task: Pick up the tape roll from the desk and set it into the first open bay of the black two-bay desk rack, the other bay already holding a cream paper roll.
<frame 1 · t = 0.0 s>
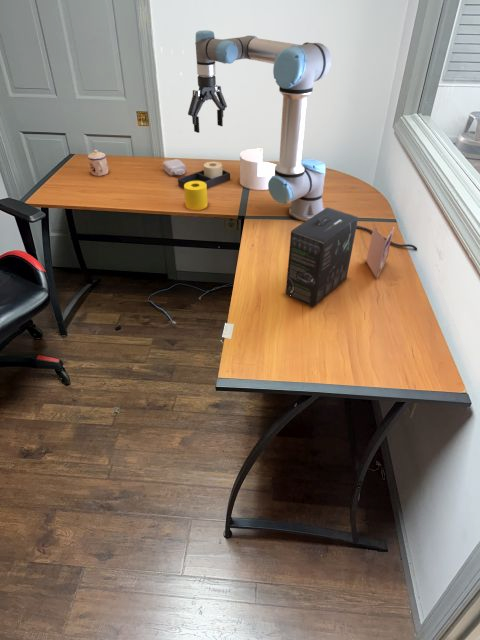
hand: (208, 128, 194), 28 cm above the table, tool pointing down, fingers open, 13 cm apart
white notched cylinder: (259, 182, 219), on the table
headset box: (316, 287, 150), on the table
tape roll: (196, 205, 199), on the table
greeting card: (373, 268, 159), on the table
rack: (204, 182, 218), on the table
teacup with lid: (101, 174, 227), on the table
charger: (177, 174, 227), on the table
paper roll: (213, 179, 221), resting on rack
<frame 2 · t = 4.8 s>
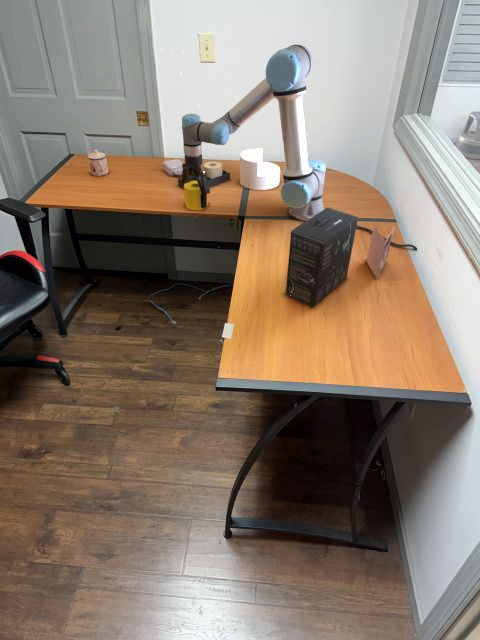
hand: (196, 203, 198), 1 cm above the table, tool pointing down, fingers closed on tape roll, 10 cm apart
tape roll: (196, 205, 199), on the table, touching gripper
everything else where it was.
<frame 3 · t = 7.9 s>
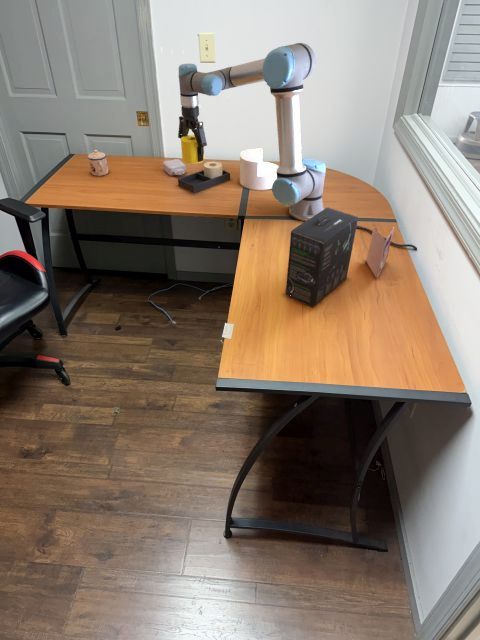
hand: (193, 158, 200), 16 cm above the table, tool pointing down, fingers closed on tape roll, 10 cm apart
tape roll: (193, 160, 200), point 15 cm above the table, touching gripper
everything else where it was.
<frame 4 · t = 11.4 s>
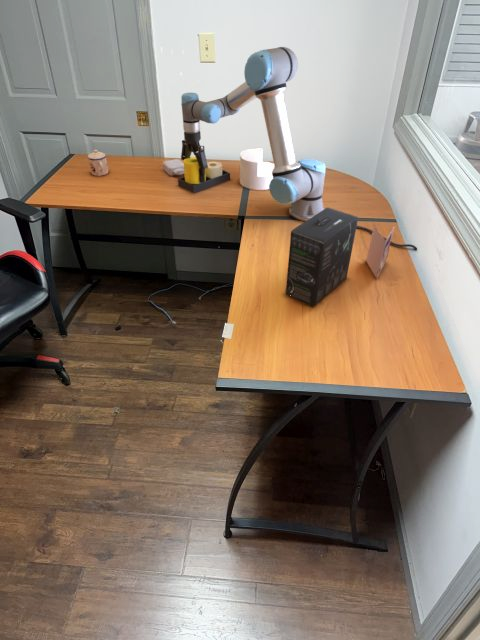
hand: (195, 178, 212), 4 cm above the table, tool pointing down, fingers closed on tape roll, 10 cm apart
tape roll: (195, 180, 213), point 3 cm above the table, touching gripper
everything else where it was.
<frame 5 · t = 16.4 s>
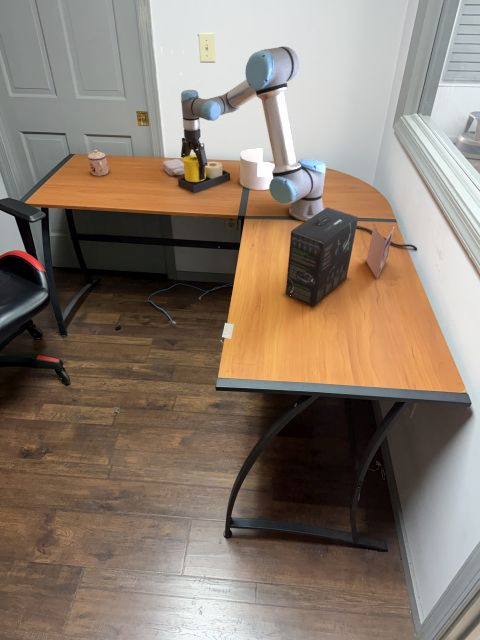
hand: (195, 176, 212), 5 cm above the table, tool pointing down, fingers closed on tape roll, 10 cm apart
tape roll: (195, 178, 212), point 4 cm above the table, touching gripper
everything else where it was.
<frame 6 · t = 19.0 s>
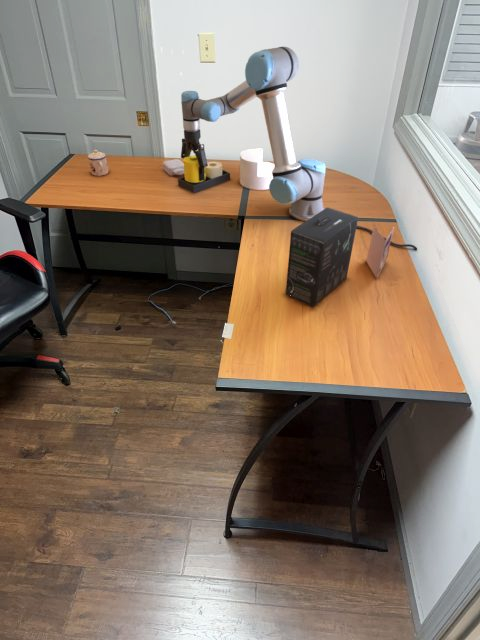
hand: (195, 177, 212), 5 cm above the table, tool pointing down, fingers closed on tape roll, 10 cm apart
tape roll: (195, 178, 212), point 4 cm above the table, touching gripper
everything else where it was.
when the fingers open (5 cm above the table, at t = 21.0 s): tape roll drops 4 cm, resting on rack.
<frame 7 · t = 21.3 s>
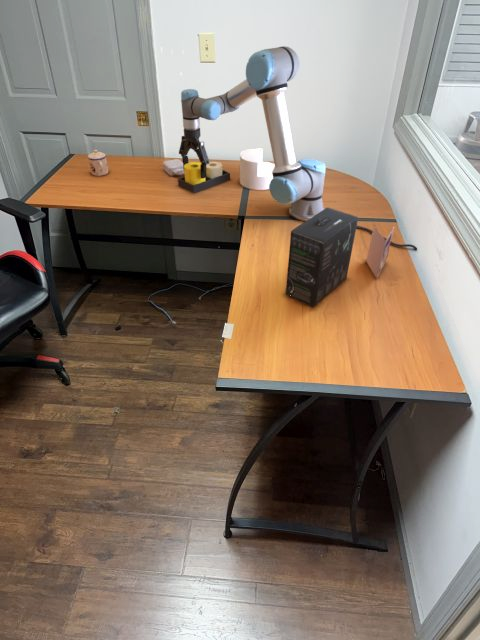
hand: (194, 173, 211), 6 cm above the table, tool pointing down, fingers open, 13 cm apart
tape roll: (195, 185, 214), resting on rack
everything else where it was.
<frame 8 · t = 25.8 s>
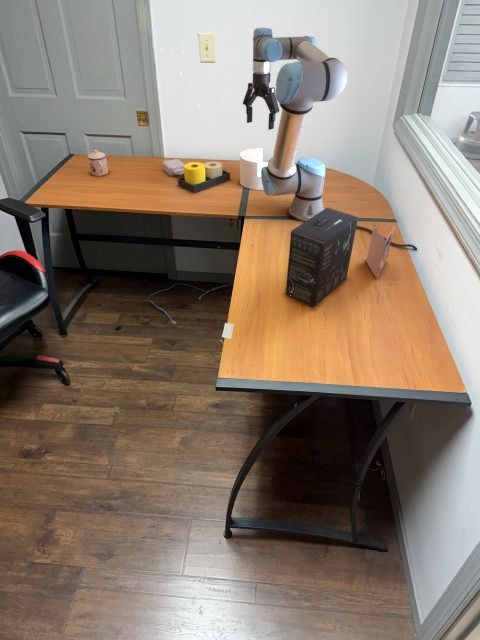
hand: (260, 125, 196), 29 cm above the table, tool pointing down, fingers open, 13 cm apart
nothing on the table moved.
at the end: tape roll 0.1 cm from the target spot in the rack, point 0.4 cm above the rack's base; tape roll tilted 0°; the gripper is holding nothing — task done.
